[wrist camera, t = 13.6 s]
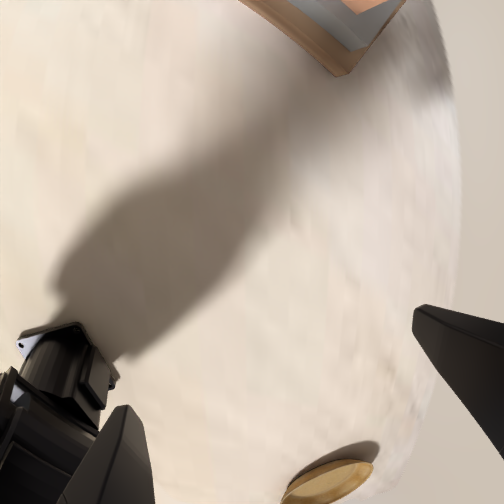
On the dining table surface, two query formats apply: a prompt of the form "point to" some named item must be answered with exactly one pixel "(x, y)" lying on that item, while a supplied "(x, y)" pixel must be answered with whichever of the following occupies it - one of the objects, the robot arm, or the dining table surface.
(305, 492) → the plant saucer
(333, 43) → the tower base slab
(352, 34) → the tower top slab
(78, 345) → the robot arm
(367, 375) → the dining table surface
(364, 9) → the terracotta block
